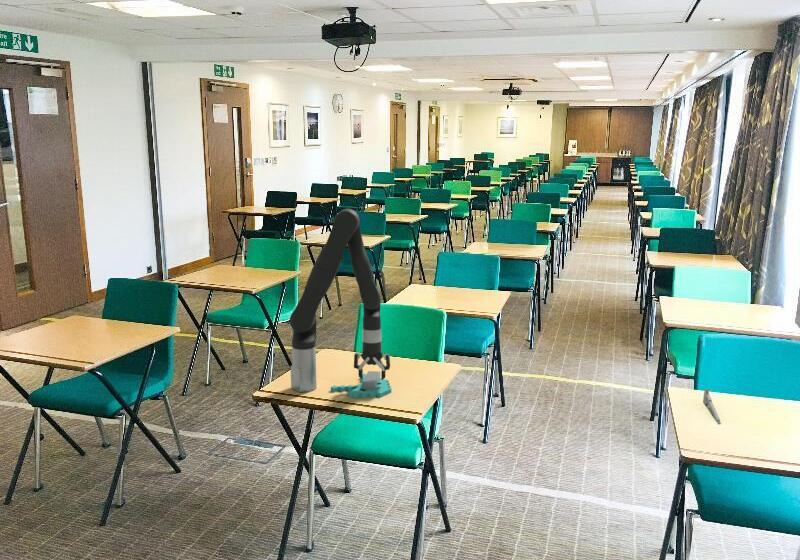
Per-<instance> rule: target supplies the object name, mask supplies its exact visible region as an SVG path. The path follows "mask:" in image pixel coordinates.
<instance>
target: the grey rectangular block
mask: <svg viewBox="0 0 800 560" xmlns="http://www.w3.org/2000/svg"><path fill="white" fill-rule="evenodd" d="M366 374H367V375H366V377H365V379H364V380H363V389H364V390H376V387H377V385H378V383H379V381H380V378H381V371H377V370H375V371H374V370H373V371H372V370H370V371H369V370H368V371H367V373H366Z"/></svg>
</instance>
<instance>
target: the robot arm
mask: <svg viewBox="0 0 800 560" xmlns="http://www.w3.org/2000/svg"><path fill="white" fill-rule="evenodd" d="M360 221H361V220H360V215H359V214H358V213H357V212H356V210H354V209H352V208H344V209H343V208H342V209H341V210H340V211H339V212H338V213H336V216H335V217H334V220H333V224H332V226H331V230H330V233H329V235H328V237H327V241H326V242H325V243H324V245H323V248H322V249H321V250H320V252H319V253H318V255H317V258H316V259H315V262H314V264H313V267H312V268H311V270H310V273H309V276H308V278H307V281H306V284H305V286H304V290H303V293H302V296H300V299H299V301H298V303H297V305H296V307H295V308H294V310H293V311H292V313H291V314H290V316H289V317H290V318H289V324H290V326H291V329H292V331H293V332H292V337H291V338H292V339H291V353H292V358H291V359H292V361H291V362H292V365H290V389H292V390H294V391H296V392H299V393H301V392H302V393H303V392H311V391H314V390H316V388H317V348H316V347H317V345H316V343H317V342H316V341H317V314H316V313H317V311H318V308H319V306H320V303H321V302H322V300H323V299H324V297H325V296H326V294H327V292H328V291H329V289H330V287H331V286H332V284H333V282H334V280H335V279H336V278H335V277H336V275H337V274H338V271H339V269H340V266H341V263H342V259H343V256H344V252H345V249H346V247H347V248H348V253H349V257H350V264H351V267H352V271H353V274H354V277H355V281H356V283H357V285H358V289H359V290H358V291H359V295H360V299H361V301H362V306H363V307H362V308H363V317H362V335H361V338H362V339H361V341H362V342H361V343H362V346H361V347H362V350H361V351H362V352H360V353H359V352H358V351H356V352H355V353H354V356H353V368H354V369H357V370H358V378H359V379H360V380H361V379H362V378H363V374H364V373H363V371H364V369H363V368H364V367H365V366H366V365H368V366H370V365H372V366H376V365H377V366H378V367H379V368H380V370H381V371H380V378H381V380H383V379H386V375H387V374H386V371H387V370H388V371H389V370H390V369H391V357H390V356H391V355H390V353H385V354H384V353H382V338H383V337H382V328H381V327H382V325H381V323H382V322H381V321H382V318H381V305H382V304H381V300H382V296H381V293H380V292H379V290H378V288H377V285H376V281H375V276H374V271H373V269H372V266H371V265H372V264H371V262H370V259H369V256H368V253H367V251H366V249H365V245H364V241H363V236H362V231H361V222H360ZM360 358H361V359H362V360H363V361H362V362H361V363H360V365H359V359H360ZM382 359H384V360H385V364H386V365H385V364H384V363H383V361H382Z"/></svg>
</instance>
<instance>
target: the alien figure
mask: <svg viewBox="0 0 800 560" xmlns="http://www.w3.org/2000/svg"><path fill="white" fill-rule="evenodd" d="M366 375H367V373H363V378H362V379H360V383H358V384H356V385H353V384H349V385H342V384H341V385H339V386H338V385H332V386H330V391H331V392H334V393H337V392H339V391H340V392H342V393H343V392H346V391H347V397H350V398H353V399H359V398H362V399H365V398H372V399H373V398H375V397H379V398H382V397H384V396H387V395H389V394H391V393H392V388H391V385H390V382H389V381H390V380H389V379H386V378H385V379H383V380H381V377H380V381H379V383H378V385H377V387H376V390H364V389H363V380H364V379H365V377H366Z"/></svg>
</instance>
